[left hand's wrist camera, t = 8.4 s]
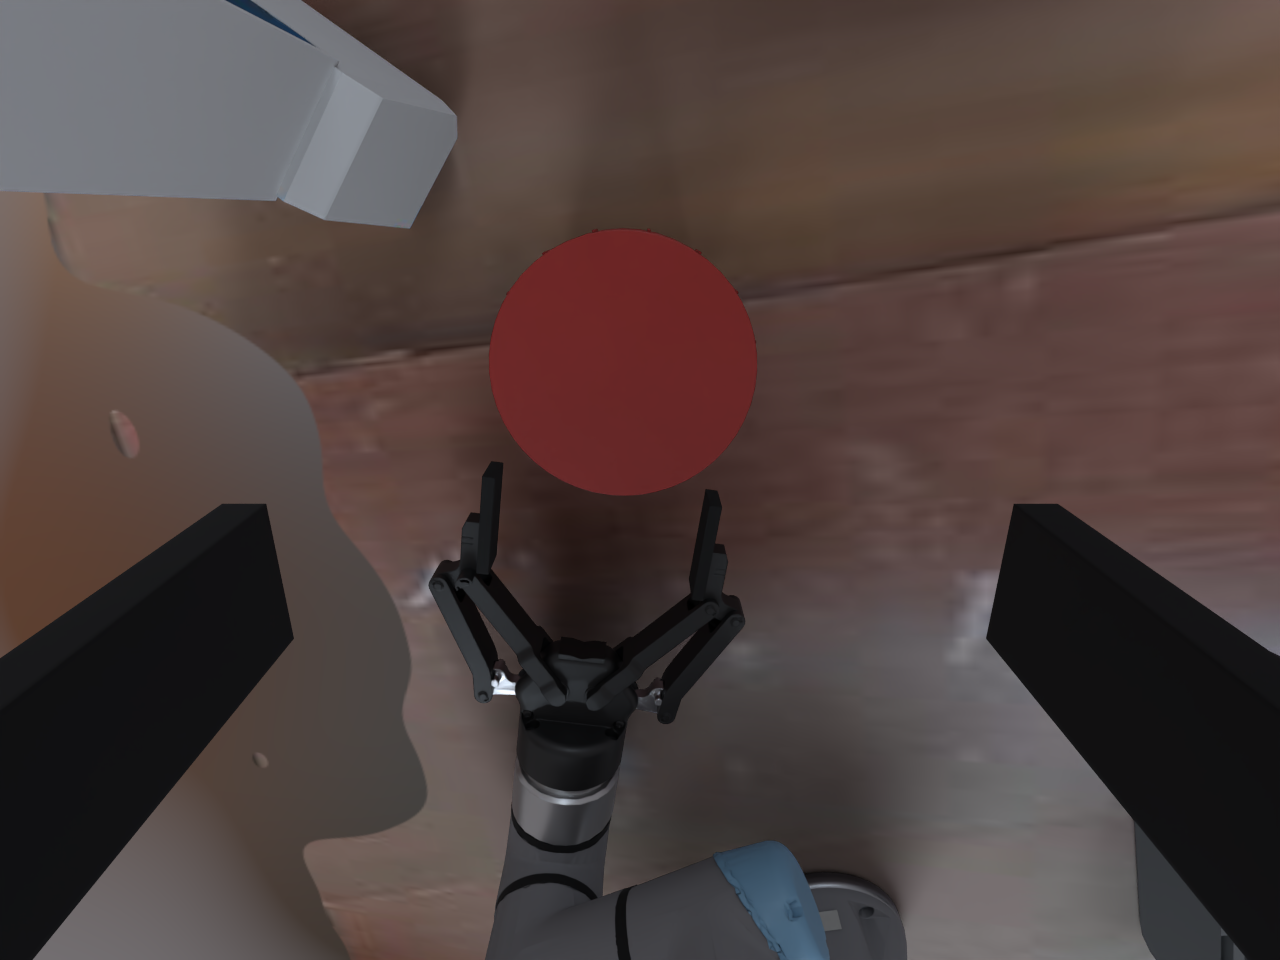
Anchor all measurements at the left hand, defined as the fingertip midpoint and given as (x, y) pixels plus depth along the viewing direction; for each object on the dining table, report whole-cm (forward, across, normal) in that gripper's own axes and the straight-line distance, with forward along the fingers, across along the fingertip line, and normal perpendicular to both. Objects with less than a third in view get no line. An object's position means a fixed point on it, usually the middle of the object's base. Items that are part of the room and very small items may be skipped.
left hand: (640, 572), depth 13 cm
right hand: (+29, +2, +9) cm, 30 cm away
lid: (+16, +1, 0) cm, 16 cm away
